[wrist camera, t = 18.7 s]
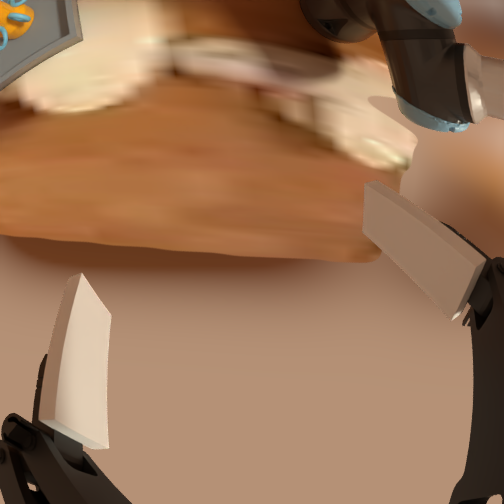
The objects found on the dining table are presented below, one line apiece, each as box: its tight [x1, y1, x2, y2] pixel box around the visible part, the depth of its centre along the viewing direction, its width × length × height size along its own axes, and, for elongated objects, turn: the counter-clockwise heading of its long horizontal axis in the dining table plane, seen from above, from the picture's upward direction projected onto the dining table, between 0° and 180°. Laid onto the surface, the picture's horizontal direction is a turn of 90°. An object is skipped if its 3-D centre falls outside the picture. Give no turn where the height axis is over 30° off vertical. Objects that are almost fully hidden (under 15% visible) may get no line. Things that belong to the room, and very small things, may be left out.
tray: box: [0, 0, 83, 91], centre depth 16 cm, size 20×20×4 cm
